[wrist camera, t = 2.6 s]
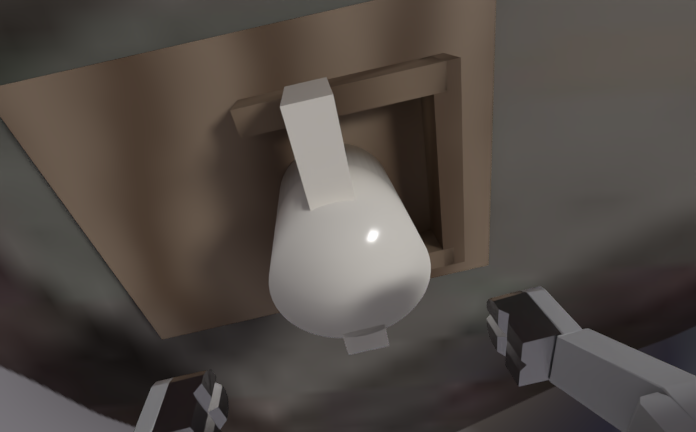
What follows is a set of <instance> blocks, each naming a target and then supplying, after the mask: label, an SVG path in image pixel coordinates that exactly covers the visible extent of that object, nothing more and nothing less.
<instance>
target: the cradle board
mask: <svg viewBox="0 0 696 432" xmlns="http://www.w3.org/2000/svg"><path fill="white" fill-rule="evenodd" d="M495 19H496V0H373V1H369V2H365V3H360V4H356V5H351V6H347V7H343V8H338V9H334V10H330V11H325V12H321V13H316V14H312V15H308V16H303V17H299V18H294V19H290V20H286V21H281V22H277V23H273V24H268V25H264V26H259V27H255V28H251V29H246V30H242V31H238V32H233V33H229V34H224V35H220V36H216V37H211V38H207V39H203V40H198V41H194V42H189V43H185V44H181V45H176V46H172V47H167V48H163V49H159V50H154V51H150V52H146V53H141V54H137V55H132V56H128V57H124V58H119V59H115V60H111V61H106V62H102V63H97V64H93V65H89V66H84V67H80V68H76V69H71V70H67V71H62V72H58V73H54V74H49V75H45V76H40V77H36V78H32V79H27V80H23V81H19V82H14V83H10V84H5V85H1V86H0V117H1V118H2V120H3V121H4V122H5V124H6V125H7V127H8V128H9V129H10V131H11V132H12V133H13V135H14V136H15V138H16V139H17V140H18V142H19V143H20V144H21V146H22V147H23V149H24V150H25V151H26V153H27V154H28V155H29V157H30V158H31V160H32V161H33V162H34V164H35V165H36V166H37V168H38V169H39V171H40V172H41V173H42V175H43V176H44V178H45V179H46V180H47V182H48V183H49V184H50V186H51V187H52V189H53V190H54V191H55V193H56V194H57V195H58V197H59V198H60V200H61V201H62V202H63V204H64V205H65V206H66V208H67V209H68V211H69V212H70V213H71V215H72V216H73V217H74V219H75V220H76V222H77V223H78V224H79V226H80V227H81V228H82V230H83V231H84V233H85V234H86V235H87V237H88V238H89V239H90V241H91V242H92V244H93V245H94V246H95V248H96V249H97V250H98V252H99V253H100V255H101V256H102V257H103V259H104V260H105V262H106V263H107V264H108V266H109V267H110V268H111V270H112V271H113V273H114V274H115V275H116V277H117V278H118V279H119V281H120V282H121V284H122V285H123V286H124V288H125V289H126V290H127V292H128V293H129V295H130V296H131V297H132V299H133V300H134V301H135V303H136V304H137V306H138V307H139V308H140V310H141V311H142V312H143V314H144V315H145V317H146V318H147V319H148V321H149V322H150V323H151V325H152V326H153V328H154V329H155V330H156V332H157V333H158V334H159V336H160V337H161V339H162V340H163V339H167V338H171V337H176V336H180V335H185V334H189V333H193V332H198V331H202V330H206V329H211V328H215V327H220V326H224V325H228V324H233V323H237V322H241V321H246V320H250V319H255V318H259V317H263V316H268V315H272V314H276V313H280V312H279V310H278V309H277V308H276V306H275V304H274V302H273V300H272V297H271V294H270V290H269V271H270V263H271V255H272V247H273V240H274V232H275V224H276V216H277V208H278V200H279V192H280V186H281V182H282V179H283V176H284V174H285V172H286V170H287V169H288V167H289V166H290V164H291V163H292V162H293V161H294V160H295V156H294V153H293V150H292V146H291V143H290V140H289V136H288V133H287V129H286V126H285V123H284V119H283V116H282V112H281V109H280V103H281V99H282V95H283V91H284V87H285V86H290V85H294V84H298V83H303V82H307V81H311V80H316V79H320V78H324V77H327V80H328V82H329V85H330V87H331V90H332V92H333V96H334V100H335V105H336V110H337V115H338V119H339V124H340V129H341V134H342V138H343V143H346V144H351V145H355V146H357V147H360V148H362V149H364V150H366V151H368V152H369V153H370V154H372V155H373V156H374V157H375V158H376V159H377V160H378V161H379V162H380V163H381V165H382V166H383V168H384V170H385V171H386V173H387V175H388V177H389V179H390V181H391V183H392V184H393V186H394V188H395V190H396V192H397V194H398V196H399V198H400V199H401V201H402V203H403V205H404V207H405V209H406V211H407V213H408V215H409V216H410V218H411V220H412V222H413V224H414V226H415V228H416V230H417V231H418V233H419V235H420V237H421V239H422V241H423V243H424V245H425V246H426V248H427V251H428V254H429V257H430V263H431V274H430V278H434V277H438V276H443V275H447V274H452V273H456V272H460V271H465V270H469V269H473V268H478V267H482V266H487V265H489V232H490V197H491V161H492V126H493V90H494V55H495Z"/></svg>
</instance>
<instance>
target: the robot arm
mask: <svg viewBox="0 0 696 432" xmlns="http://www.w3.org/2000/svg"><path fill="white" fill-rule="evenodd" d="M487 310H488V311H489V313H490V315H489V317H488V318H487V330H488V334H489V337H490V339H491V341H492V344H493V345H494V347H495V349H496V350H497V352H499V353H501V354H502V355H504V356H506V363H505V365H506V367H507V369H508V370H509V372H510V373H511V375H512V377H513V378H514V380H515V381H516V383H517V385H518V386H523V385H528V384H532V383H537V382H541V381H546V380H550V381H549V382H551V383H552V384H554V385H555V386H557V387H558V388H560V389H561V390H563V391H564V392H565V393H567V394H568V395H570V396H571V397H573V398H574V399H576V400H577V401H578V402H580V403H581V404H583V405H584V406H586V407H587V408H589V409H590V410H592V411H593V412H594V413H596V414H597V415H599V416H600V417H602V418H603V419H604V420H606V421H607V422H609V423H610V424H612V425H613V426H615V427H616V428H618V429H619V430H620V431H622V432H696V376H695V375H692V374H690V373H688V372H685V371H683V370H681V369H679V368H677V367H674V366H672V365H670V364H668V363H665V362H663V361H661V360H658V359H656V358H654V357H652V356H650V355H647V354H645V353H643V352H641V351H638V350H636V349H634V348H632V347H629V346H627V345H625V344H623V343H620V342H618V341H616V340H614V339H611V338H609V337H607V336H605V335H602V334H600V333H598V332H596V331H593V330H591V329H589V328H587V329H582V328H581V327H580V326H579V325H578V324H577V323H576V322H575V321H574V320H573V319H572V318H571V316H570V315H569V314H568V313H567V312H566V311H565V310H564V309H563V308H562V307H561V306H560V305H559V304H558V303H557V302H556V300H555V299H554V298H553V297H552V296H551V295H550V294H549V293H548V292H547V291H546V290H545V289H544V288H543V287H541V286H538V287H534V288H530V289H526V290H523V291H517V292H513V293H510V294H506V295H502V296H498V297H494V298H491V299H488V301H487ZM215 380H216V375H215V374H214V373H213V371H212V370H205V371H201V372H196V373H192V374H187V375H183V376H178V377H174V378H170V379H166V380H161V381H157V382H155V384H154V385H153V386H152V387H151V389H150V392H149V394H148V397H147V399H146V402H145V404H144V407H143V409H142V412H141V414H140V417H139V419H138V422H137V425H136V427H135V430H134V432H221V430H220V429H221V427H222V426H223V424H224V423H225V422H226V420H227V416H228V410H229V407H228V396H227V393H226V390H225V389H224V387H223V386H222V385H220V384H217V383H215Z"/></svg>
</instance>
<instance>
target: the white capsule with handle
mask: <svg viewBox="0 0 696 432" xmlns="http://www.w3.org/2000/svg"><path fill="white" fill-rule="evenodd" d="M280 109H281V112H282V116H283V119H284V123H285V126H286V129H287V133H288V136H289V140H290V143H291V146H292V150H293V153H294V156H295V160H294V161H293V162H292V163H291V164H290V166H289V167H288V169H287V170H286V172H285V174H284V176H283V179H282V182H281V186H280V192H279V200H278V208H277V216H276V224H275V232H274V240H273V247H272V255H271V263H270V271H269V290H270V294H271V297H272V300H273V302H274V304H275V306H276V308H277V309H278V310H279V312H280V313H281V314H282V315H283V316H284V317H285V318H286V319H287V320H288V321H289V322H291V323H292V324H293V325H295V326H297V327H298V328H300V329H302V330H304V331H307V332H309V333H312V334H316V335H319V336H324V337H332V338H343V339H344V342H345V345H346V348H347V352H348V355H352V354H356V353H361V352H365V351H369V350H374V349H378V348H382V347H387V346H389V341H388V336H387V332H386V328H387V327H389V326H391V325H393V324H395V323H396V322H398V321H400V320H401V319H402V318H404V317H405V316H406V315H407V314H408V313H409V312H411V311H412V310H413V309H414V307H415V306H416V305H417V304H418V303H419V301H420V300H421V298H422V297H423V295H424V293H425V291H426V289H427V286H428V283H429V280H430V274H431V263H430V257H429V254H428V251H427V248H426V246H425V245H424V243H423V241H422V239H421V237H420V235H419V233H418V231H417V230H416V228H415V226H414V224H413V222H412V220H411V218H410V216H409V215H408V213H407V211H406V209H405V207H404V205H403V203H402V201H401V199H400V198H399V196H398V194H397V192H396V190H395V188H394V186H393V184H392V183H391V181H390V179H389V177H388V175H387V173H386V171H385V170H384V168H383V166H382V165H381V163H380V162H379V161H378V160H377V159H376V158H375V157H374V156H373V155H372V154H370V153H369V152H368V151H366V150H364V149H362V148H360V147H357V146H355V145H351V144H346V143H343V138H342V134H341V129H340V124H339V119H338V115H337V110H336V105H335V100H334V96H333V92H332V90H331V87H330V85H329V82H328V80H327V77H324V78H320V79H316V80H311V81H307V82H303V83H298V84H294V85H290V86H285V87H284V91H283V95H282V99H281V103H280Z"/></svg>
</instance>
